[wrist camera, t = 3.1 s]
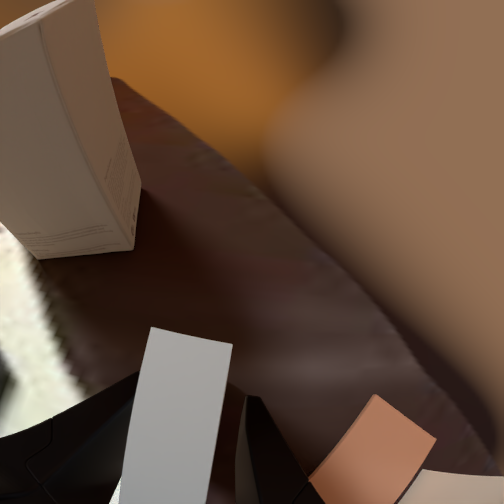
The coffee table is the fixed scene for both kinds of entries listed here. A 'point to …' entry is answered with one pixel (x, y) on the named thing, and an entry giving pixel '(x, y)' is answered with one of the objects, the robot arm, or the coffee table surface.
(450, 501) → the domino
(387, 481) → the tile
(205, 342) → the domino
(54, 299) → the coffee table surface
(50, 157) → the skincare box
